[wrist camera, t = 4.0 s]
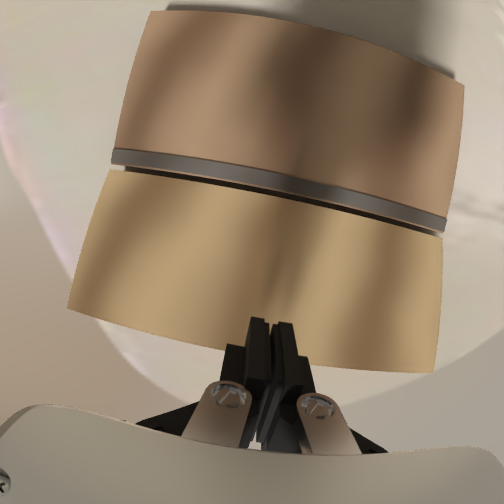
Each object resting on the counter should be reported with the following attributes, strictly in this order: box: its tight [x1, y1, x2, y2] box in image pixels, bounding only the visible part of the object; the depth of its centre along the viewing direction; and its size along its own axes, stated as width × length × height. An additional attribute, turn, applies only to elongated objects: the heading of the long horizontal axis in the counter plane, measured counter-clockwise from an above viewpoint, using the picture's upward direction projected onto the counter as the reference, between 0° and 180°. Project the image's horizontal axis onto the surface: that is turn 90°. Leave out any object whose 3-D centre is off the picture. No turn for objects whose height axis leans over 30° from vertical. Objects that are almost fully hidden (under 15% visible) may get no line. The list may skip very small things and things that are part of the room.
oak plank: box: [67, 169, 443, 373], centre depth 15 cm, size 20×8×2 cm
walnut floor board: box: [111, 10, 464, 233], centre depth 15 cm, size 20×10×2 cm, turn 79°
